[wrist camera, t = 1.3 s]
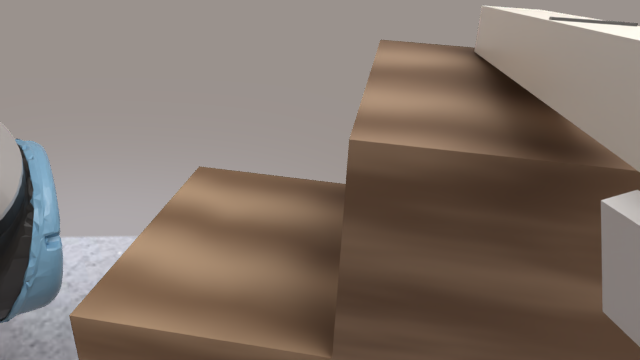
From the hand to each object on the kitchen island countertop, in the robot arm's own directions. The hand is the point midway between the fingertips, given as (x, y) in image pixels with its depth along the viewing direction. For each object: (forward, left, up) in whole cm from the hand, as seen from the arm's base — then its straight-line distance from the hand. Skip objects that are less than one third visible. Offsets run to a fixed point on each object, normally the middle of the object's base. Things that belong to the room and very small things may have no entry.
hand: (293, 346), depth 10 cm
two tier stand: (-12, +12, -29) cm, 34 cm away
